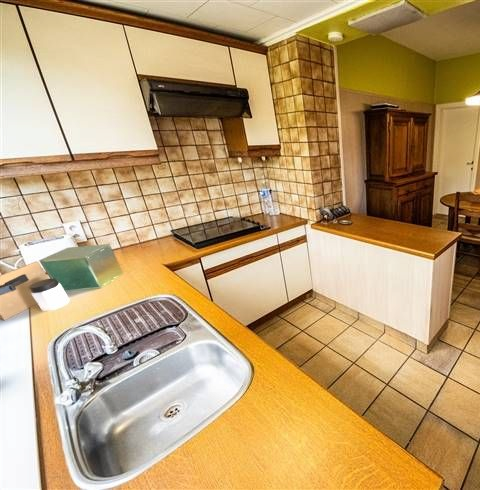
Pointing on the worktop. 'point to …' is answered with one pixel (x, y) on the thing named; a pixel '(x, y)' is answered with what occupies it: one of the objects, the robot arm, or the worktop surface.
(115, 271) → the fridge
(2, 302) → the fridge door
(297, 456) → the worktop surface
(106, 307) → the worktop surface
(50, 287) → the jar
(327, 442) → the worktop surface
